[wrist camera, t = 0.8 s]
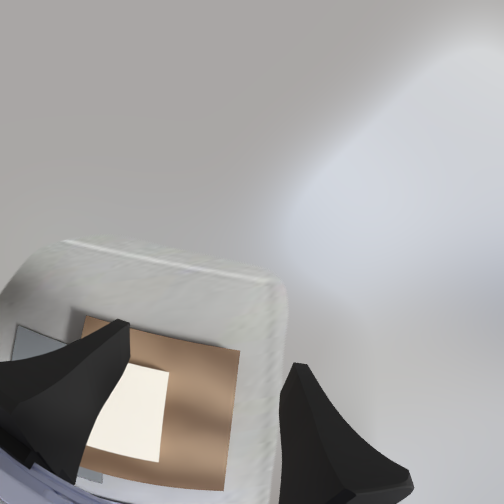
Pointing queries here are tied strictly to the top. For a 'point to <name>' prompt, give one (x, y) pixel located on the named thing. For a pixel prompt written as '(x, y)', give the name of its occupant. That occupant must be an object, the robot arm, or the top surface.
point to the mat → (37, 345)
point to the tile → (133, 415)
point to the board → (180, 413)
